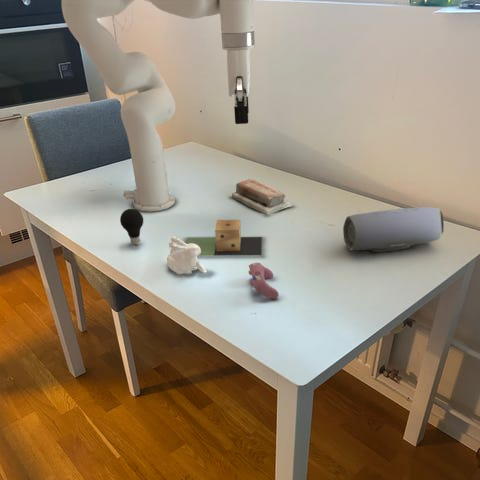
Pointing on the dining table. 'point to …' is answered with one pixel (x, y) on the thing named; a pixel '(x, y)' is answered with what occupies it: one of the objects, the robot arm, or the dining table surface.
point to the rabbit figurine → (184, 257)
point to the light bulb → (132, 224)
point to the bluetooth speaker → (393, 228)
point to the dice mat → (209, 249)
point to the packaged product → (260, 197)
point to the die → (228, 235)
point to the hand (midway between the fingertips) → (242, 118)
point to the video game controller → (262, 280)
